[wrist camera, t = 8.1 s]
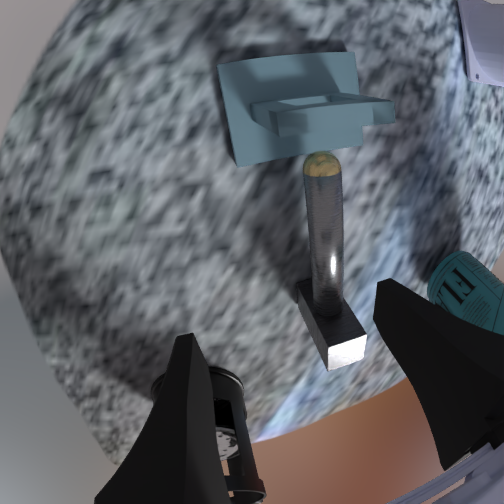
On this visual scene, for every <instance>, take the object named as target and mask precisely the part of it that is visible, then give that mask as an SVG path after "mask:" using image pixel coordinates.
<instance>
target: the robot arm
mask: <svg viewBox="0 0 504 504" xmlns="http://www.w3.org/2000/svg"><path fill="white" fill-rule="evenodd" d="M457 1H458V6H459V11H460V17H461V23H462V30H463V37H464V45H465V54H466V65H467V76H468V79H469V80H470V81H473V82H479V83H485V84H491V85H497V86H502V87H504V4H490V3H488V2H486V1H484V0H457ZM373 320H374V322H375V324H376V327H377V329H378V331H379V333H380V335H381V337H382V339H383V340H384V342H385V343H386V345H387V347H388V348H389V350H390V351H391V353H392V354H393V356H394V357H395V359H396V360H397V362H398V363H399V365H400V366H401V368H402V370H403V371H404V373H405V374H406V376H407V377H408V379H409V381H410V382H411V384H412V386H413V388H414V390H415V392H416V394H417V396H418V399H419V401H420V403H421V405H422V408H423V410H424V413H425V415H426V417H427V420H428V423H429V425H430V428H431V431H432V434H433V437H434V440H435V444H436V448H437V451H438V455H439V459H440V463H441V466H442V468H443V469H444V471H446V470H448V469H449V468H451V467H452V466H454V465H456V464H457V463H459V462H460V461H461V460H463V459H465V458H466V457H468V456H469V455H470V454H472V455H471V456H469V457H468V458H466V459H465V460H463V461H462V462H460V463H459V464H457V465H456V466H454V467H453V468H451V469H450V470H448V471H446V472H445V473H443V474H441V475H440V476H438V477H436V478H435V479H433V480H431V481H429V482H428V483H426V484H424V485H422V486H420V487H418V488H417V489H415V490H413V491H411V492H409V493H407V494H405V495H403V496H401V497H399V498H397V499H395V500H393V501H390V502H388V503H386V504H420V503H422V502H424V501H426V500H428V499H429V498H431V497H433V496H435V495H436V494H438V493H440V492H441V491H443V490H445V489H446V488H448V487H450V486H451V485H453V484H454V483H456V482H457V481H459V480H460V479H462V478H463V477H465V476H466V475H467V476H466V478H465V482H464V484H462V485H460V486H459V487H457V488H456V489H454V490H452V491H451V492H449V493H447V494H446V495H444V496H443V497H441V498H439V499H438V500H436V501H435V502H433V503H432V504H504V335H501V334H498V333H495V332H492V331H489V330H486V329H484V328H481V327H479V326H476V325H474V324H472V323H469V322H467V321H465V320H463V319H461V318H459V317H457V316H455V315H453V314H451V313H449V312H447V311H445V310H443V309H442V308H440V307H438V306H436V305H435V304H433V303H431V302H430V301H428V300H426V299H425V298H423V297H421V296H420V295H418V294H416V293H415V292H413V291H411V290H410V289H408V288H406V287H405V286H403V285H402V284H400V283H398V282H396V281H395V280H393V279H391V278H389V279H386V280H383V281H380V282H377V290H376V299H375V306H374V314H373ZM94 504H232V503H231V500H230V497H229V493H228V489H227V485H226V481H225V477H224V473H223V469H222V465H221V460H220V455H219V451H218V444H217V436H216V425H215V413H214V400H213V389H212V384H211V378H210V373H209V368H208V364H207V362H206V360H205V358H204V356H203V354H202V351H201V349H200V347H199V345H198V343H197V340H196V338H195V336H194V333H190V334H185V335H181V336H177V337H176V339H175V343H174V347H173V350H172V354H171V357H170V361H169V364H168V367H167V370H166V373H165V376H164V379H163V382H162V385H161V388H160V390H159V393H158V395H157V398H156V400H155V403H154V405H153V408H152V410H151V412H150V415H149V417H148V419H147V421H146V423H145V425H144V427H143V429H142V431H141V433H140V435H139V436H138V438H137V440H136V442H135V443H134V445H133V447H132V449H131V450H130V452H129V453H128V455H127V456H126V458H125V459H124V461H123V462H122V464H121V465H120V467H119V468H118V470H117V471H116V473H115V474H114V475H113V476H112V478H111V479H110V480H109V481H108V483H107V484H106V485H105V486H104V487H103V489H102V490H101V491H100V492H99V493H98V494H97V496H96V497H95V500H94Z"/></svg>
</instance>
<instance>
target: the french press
mask: <svg viewBox="0 0 504 504" xmlns="http://www.w3.org/2000/svg"><path fill="white" fill-rule="evenodd" d="M208 368H209V373H210V378H211V384H212V389H213V398H214V399H221V400H226V401H227V402H226V403H225V404H224V405H222V406H220V407H218V408H216V409H214V413H215V425H216V436H217V444H218V451H219V455H220V460H221V461H222V460H227V463H228V468H229V474H230V476H224V477H225V481H226V485H227V489H228V491H233V494H234V497H230V500H231V503H232V504H259V503H262V502H263V499H264V498H265V497H266V491H265V487H264V483H263V481H262V480H261V479H259V477H258V473H257V469H256V464H255V460H254V456H253V452H252V447H251V443H250V439H249V434H248V430H247V425H246V419H247V411H246V407H245V402H244V398H243V396H244V387H243V384H242V382H241V381H240V380H239V378H238V377H236V376H235V375H234V374H232V373H230V372H228V371H226V370H223V369H220V368H215V367H209V366H208ZM164 376H165V374H163V375H162V376H160V377H159V378H158V379H157V380H156V381H155V382H154V384H153V386H152V389H151V397H152V400H153V405H154V403H155V400H156V398H157V395H158V393H159V390H160V388H161V385H162V382H163V379H164Z"/></svg>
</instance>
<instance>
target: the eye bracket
mask: <svg viewBox="0 0 504 504" xmlns="http://www.w3.org/2000/svg"><path fill="white" fill-rule="evenodd" d="M216 68H217V73H218V78H219V83H220V88H221V93H222V98H223V103H224V108H225V113H226V118H227V123H228V128H229V133H230V138H231V143H232V148H233V153H234V159H235V164H236V166H237V167H243V166H247V165H252V164H257V163H262V162H266V161H271V160H277V159H282V158H287V157H292V156H298V155H303V154H309V153H313V152H316V151H327V150H333V149H340V148H347V147H354V146H361V145H363V132H362V126H367V125H377V124H389V123H395V105H394V101H390V100H385V99H379V98H374V97H368V96H362V95H360V94H359V85H358V76H357V67H356V60H355V52H325V53H305V54H292V55H281V56H271V57H263V58H255V59H248V60H242V61H235V62H229V63H224V64H218V65H216Z"/></svg>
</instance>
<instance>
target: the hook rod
mask: <svg viewBox="0 0 504 504" xmlns="http://www.w3.org/2000/svg"><path fill="white" fill-rule="evenodd" d="M303 177H304V187H305V196H306V207H307V218H308V230H309V242H310V256H311V270H312V279H309V280H306V281H302V282H298V283H296V288H297V298H298V308H299V310H300V312H301V314H302V317H303V319H304V321H305V323H306V325H307V327H308V330H309V332H310V334H311V336H312V338H313V340H314V343H315V345H316V347H317V349H318V351H319V353H320V356H321V358H322V360H323V362H324V364H325V367H326V369H327V371H331V370H334V369H336V368H339V367H342V366H345V365H348V364H351V363H354V362H356V361H359V360H362V359H363V356H364V350H365V344H366V338H367V334H366V332H365V331H364V329H363V327H362V326H361V324H360V323H359V321H358V319H357V318H356V316H355V315H354V313H353V312H352V310H351V308H350V307H349V305H348V304H347V302H346V301H345V299H344V298H343V274H344V230H343V194H342V173H341V165H340V162H339V160H338V159H337V158H336V157H335V156H334V155H333V154H332V153H330V152H327V151H316V152H313V153H311V154H310V155H309V156H308V157H307V158H306V160H305V161H304V164H303Z"/></svg>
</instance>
